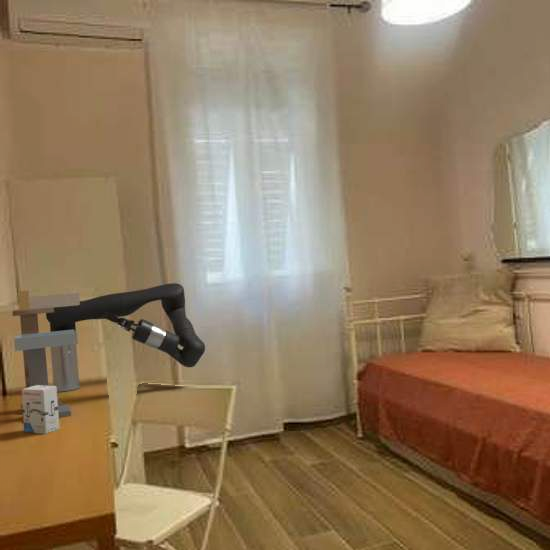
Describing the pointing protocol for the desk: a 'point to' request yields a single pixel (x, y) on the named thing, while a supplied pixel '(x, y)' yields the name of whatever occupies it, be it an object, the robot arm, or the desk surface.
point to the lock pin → (46, 300)
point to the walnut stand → (30, 327)
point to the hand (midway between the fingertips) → (104, 314)
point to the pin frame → (44, 356)
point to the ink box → (40, 409)
